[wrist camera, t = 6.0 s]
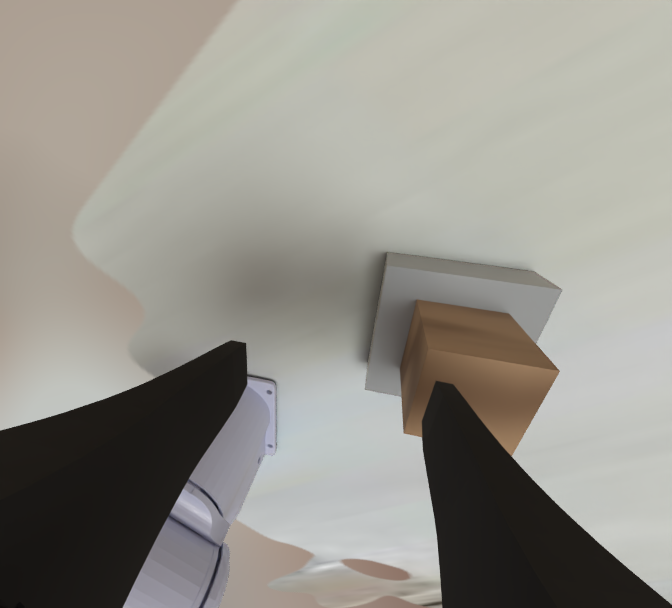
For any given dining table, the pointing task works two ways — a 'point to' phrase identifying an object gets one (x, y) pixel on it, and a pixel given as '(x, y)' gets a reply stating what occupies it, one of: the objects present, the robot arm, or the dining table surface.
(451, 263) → the base
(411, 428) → the block
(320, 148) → the dining table surface
